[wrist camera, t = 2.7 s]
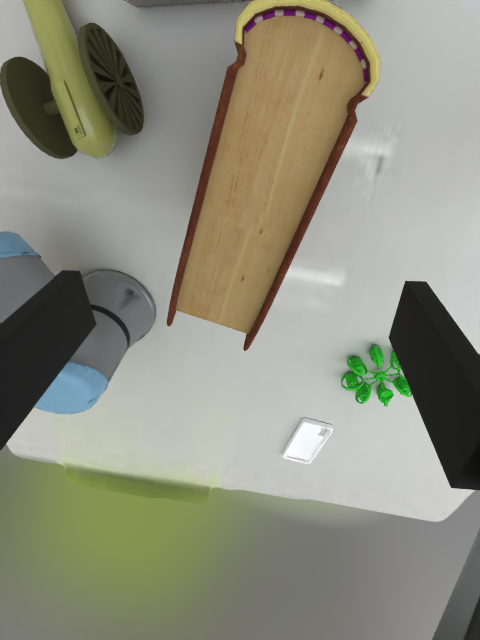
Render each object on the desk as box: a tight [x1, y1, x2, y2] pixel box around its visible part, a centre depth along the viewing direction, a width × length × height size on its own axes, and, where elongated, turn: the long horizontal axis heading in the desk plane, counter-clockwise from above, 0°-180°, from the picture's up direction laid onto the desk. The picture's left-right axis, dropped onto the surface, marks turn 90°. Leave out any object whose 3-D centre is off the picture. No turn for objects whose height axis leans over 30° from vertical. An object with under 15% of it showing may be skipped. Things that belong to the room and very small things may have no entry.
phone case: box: [283, 418, 333, 464], centre depth 82 cm, size 7×1×15 cm
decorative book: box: [167, 0, 380, 351], centre depth 35 cm, size 22×8×30 cm, turn 161°
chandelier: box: [341, 345, 412, 406], centre depth 65 cm, size 15×15×7 cm
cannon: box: [0, 0, 144, 159], centre depth 38 cm, size 25×12×11 cm, turn 16°
